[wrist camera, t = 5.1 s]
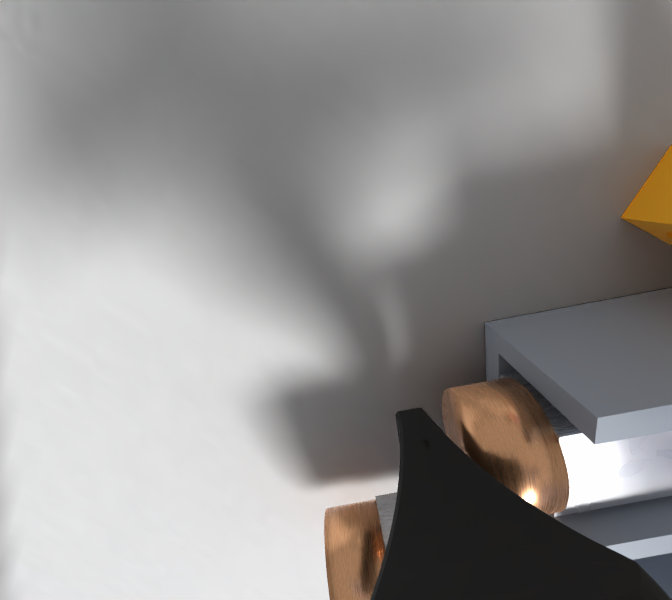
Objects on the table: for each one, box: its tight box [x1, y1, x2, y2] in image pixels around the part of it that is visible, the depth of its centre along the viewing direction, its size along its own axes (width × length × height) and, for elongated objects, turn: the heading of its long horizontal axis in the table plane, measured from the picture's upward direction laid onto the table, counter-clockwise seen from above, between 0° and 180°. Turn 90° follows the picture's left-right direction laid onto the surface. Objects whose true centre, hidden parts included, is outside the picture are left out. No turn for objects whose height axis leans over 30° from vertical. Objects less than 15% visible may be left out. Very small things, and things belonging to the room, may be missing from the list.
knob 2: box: [442, 372, 672, 517], centre depth 11 cm, size 4×8×4 cm, turn 100°
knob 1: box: [324, 492, 397, 600], centre depth 12 cm, size 4×8×4 cm, turn 100°
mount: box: [485, 288, 672, 599], centre depth 12 cm, size 10×9×6 cm
